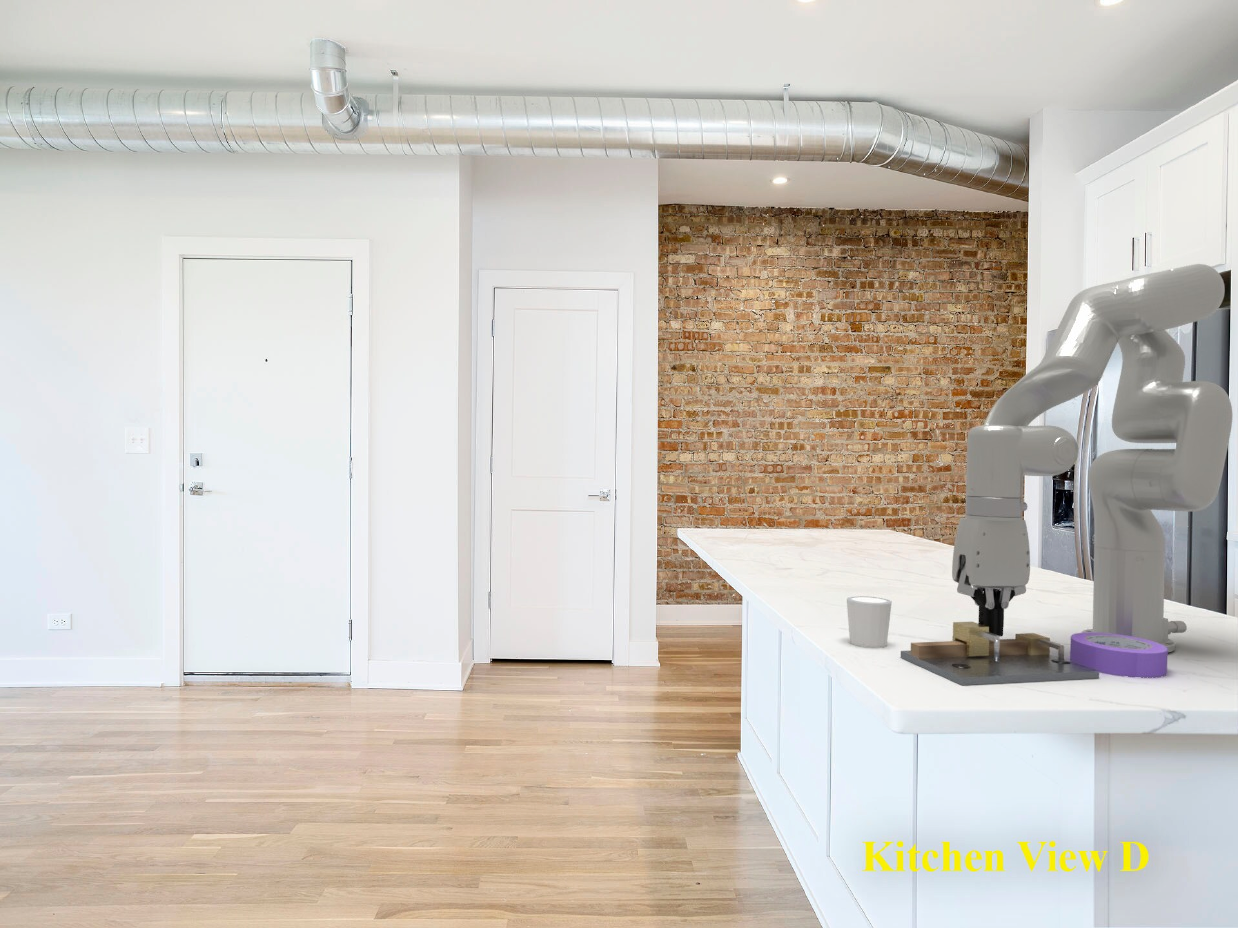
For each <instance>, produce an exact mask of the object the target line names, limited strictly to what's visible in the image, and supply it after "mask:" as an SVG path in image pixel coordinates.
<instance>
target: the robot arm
mask: <svg viewBox="0 0 1238 928" xmlns="http://www.w3.org/2000/svg"><path fill="white" fill-rule="evenodd" d="M1225 288H1226V287H1225V283H1224V279H1223V278H1222V276H1221V273H1219V272H1218V270H1216V268H1214V267H1212V266H1210V265H1207V264H1204V263H1195V264H1191V265H1185V266H1180V267H1176V268H1171V269H1166V270H1161V271H1156V272H1152V273H1146V274H1142V275H1138V276H1137V275H1136V276H1133V277H1129V278H1126V279H1122V280H1118V281H1113V282H1108V283H1107V282H1106V283H1103V284H1098V285H1095V286H1091V287H1088V288H1085V289H1083V290H1082V291H1080V292H1078V293H1077V294H1076V295H1074V297H1073V298H1072V299H1071V301H1070V303H1069V304H1068V306H1067V309H1066V311H1065V312H1064V315H1063V316H1062V318H1061V319H1060V320H1061V321H1060V323H1059V324H1058V327H1057V329H1056V331H1055V333H1054V334H1053V337H1052V339H1051V341H1050V343H1049V345H1048V347H1047V349H1046V352H1045V353H1044V356H1043V358H1042V359H1041V361H1040V363H1039V364H1038V365H1036V366H1035V367H1034V368H1033V369H1031V370H1030V371H1029V372H1027V373H1026V374H1025V375H1024V376H1023V377H1021V378H1020V379H1019V380H1018V381H1017V382H1015V383H1014V384H1013V385H1012V386H1011V387H1010V388H1009V389H1007V390H1006V391H1005V392H1004V393H1003V394H1002V395H1001V396H1000V397H999V398H998V399H997V401H995V403H994V405H992V407H991V409H990V411H988V415H987V417H986V418H985V420H984V422H983V425H982V424H981V425H976V426H973V427H971V428H970V429H969V430H968V433H967V437H966V438H967V440H966V444H967V445H966V477H965V478H966V480H965V482H966V483H965V515H964V516H965V517H960V518H959V521H958V524H957V528H956V533H955V539H954V544H953V553H952V554H953V555H952V565H951V566H952V569H951V570H952V571H951V575H952V576H951V577H952V580H953V581H954V583H958V585H957V588H956V592H957V593H959V594H961V595H965V596H968V597H970V598H971V599H972V600H973V601H974V605H976V606H977V607H978V621H977V623H978V624H982V625H985V626H988V627H989V632H990V633H993V634H996V635H999V636H1000V637H1003V636H1004V627H1005V626H1004V625H1005V623H1004V622H1005V610H1006V609H1008V608H1009V606H1010V602H1011V600H1013V598H1014V597H1016V596H1020V595H1024V594H1026V592H1027V588H1026V585H1027V584H1029V580H1030V574H1031V554H1030V553H1031V551H1030V550H1031V549H1030V541H1029V534H1028V533H1029V532H1028V526H1027V522H1026V520H1025V519H1023V513H1024V512H1026V511H1027V510H1028V503H1027V502H1025V501H1024V499H1023V498H1024V476H1027V477H1030V476H1031V477H1052V476H1058V475H1061V474H1064V473H1065V472H1067V471H1069V470H1070V469H1071V468H1073V466H1074V465H1075V464H1076V462H1077V459H1078V457H1079V443H1078V442H1077V440H1076V437H1075V436H1073V434H1072V433H1070V431H1068V430H1067V429H1065V428H1062V427H1059V426H1056V425H1030V424H1031V423H1032V422H1033V421H1034V420H1035V419H1037V417H1040V415H1042V414H1044V413H1046V412H1047V411H1049V410H1050V409H1053V408H1055V407H1057V406H1059V405H1061V404H1064V403H1066V402H1068V401H1071V400H1073V399H1075V398H1077V397H1080V396H1081V395H1083V394H1085V393H1087V392H1089V391H1090V390H1092V389H1093V388H1095V387H1096V386H1098V384H1099V383H1100V381H1101V379H1102V377H1103V374H1104V372H1105V370H1106V368H1107V366H1108V364H1109V361H1110V360H1111V358H1112V355H1113V354H1114V353H1113V352H1114V351H1115V349H1116V347H1117V345H1118V346H1119V348H1120V352H1121V357H1122V360H1121V361H1122V364H1121V369H1120V370H1121V371H1120V375H1119V379H1118V385H1117V389H1116V393H1115V399H1114V403H1113V404H1114V405H1113V409H1112V414H1111V415H1112V417H1111V428H1112V432H1113V433H1114V436H1116V437H1117V438H1118V439H1120V440H1121V441H1124V442H1127V443H1133V444H1175V448H1122V449H1116V450H1115V449H1114V450H1109V451H1107V452H1106V451H1105V452H1104V453H1102V454H1100V455H1098V456H1097V457H1096V458H1095V459H1094V460H1093V462H1092V463H1091V464H1090V466H1089V470H1088V475H1087V479H1088V481H1087V482H1088V489H1089V492H1090V497H1091V502H1092V509H1093V519H1094V520H1093V523H1094V528H1093V529H1094V540H1093V541H1094V544H1093V545H1094V546H1093V547H1094V549H1093V592H1092V593H1093V595H1092V596H1093V600H1092V602H1093V604H1092V628H1091V629H1085V630H1082V631H1081V633H1109V634H1118V635H1125V636H1131V637H1137V638H1142V639H1146V640H1150V641H1153V642H1157V643H1159V644H1162V645H1164V646H1165V647H1167V649H1168V653H1172V652H1175V650H1176V643H1175V642H1174V641H1173V640H1171V639H1169V635H1171V634H1184V633H1186V631H1187V629H1188V627H1187V626H1188V625H1187V624H1186V623H1185V622H1184V621H1182V620H1170V621H1169V618H1166V617H1164V613H1165V612H1164V610H1165V607H1164V605H1165V568H1166V567H1165V566H1166V565H1165V562H1166V560H1165V558H1166V555H1165V554H1166V538H1165V534H1164V531H1163V528H1162V526H1161V524H1160V523H1159V521H1158V519H1157V517H1156V516H1155V514H1154V513H1153V512H1152V510H1154V511H1155V510H1156V511H1171V512H1199V511H1202V510H1205V509H1206V508H1208V507H1209V506H1210V505H1212V503H1214V501H1215V500H1216V498H1217V496H1218V493H1219V491H1220V490H1219V489H1220V486H1221V484H1222V483H1221V482H1222V477H1223V474H1224V473H1223V472H1224V468H1225V464H1226V463H1225V462H1226V458H1227V452H1228V447H1229V442H1230V438H1231V437H1230V436H1231V432H1232V431H1231V430H1232V427H1233V405H1232V403H1231V400H1230V397H1229V395H1228V393H1227V392H1226V391H1225V389H1224V388H1222V386H1220V385H1218V384H1217V383H1214V382H1210V381H1205V380H1194V381H1193V380H1192V381H1183V380H1184V372H1185V367H1186V356H1185V353H1184V350H1183V348H1182V347H1181V345H1180V344H1179V343H1178V342H1177V340H1175V338H1173V336H1171V334H1170V333H1169V332H1168V331H1166V330H1169V329H1175V328H1177V327H1178V328H1179V327H1181V326H1185V325H1188V324H1192V323H1196V322H1199V321H1202V320H1205V319H1207V318H1209V317H1211V316H1212V315H1213V314H1214V313H1215V312H1217V311H1218V309H1219V308H1220V306H1221V305H1222V303H1223V301H1224V298H1225V291H1226V290H1225Z"/></svg>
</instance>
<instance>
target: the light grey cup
mask: <svg viewBox="0 0 1238 928" xmlns="http://www.w3.org/2000/svg"><path fill="white" fill-rule="evenodd" d="M846 609H847V610H846V611H847V620H848V621H847V622H848V633H849V634H848V635H849V643H850V644H852V645H854V646H857V645H858V647H863V648H870V647H873V649H874V647H875V649H877V648H878V647H879V648H884V647H887V644H888V638H889V637H888V636H889V628H890V620H891V612H892V600H890V599H887V598H883V597H878V596H877V597H875V596H861V595H860V596H859V595H858V596H849V597H847V598H846ZM876 647H877V648H876ZM879 648H878V649H879Z"/></svg>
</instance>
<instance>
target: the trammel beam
mask: <svg viewBox="0 0 1238 928" xmlns="http://www.w3.org/2000/svg"><path fill="white" fill-rule="evenodd" d="M1014 636H1015V638H1004V639H1003V638H1002V639H1000V638H999V640H1000V654H999V655H1019V654H1029V655H1046V654H1049V655H1051V654H1050V653H1051V651H1050V650H1051V648H1052V649H1055V650H1057V657H1058V660H1059V661H1064V659H1065V646H1064V645H1063V644H1060V643H1057V642H1055V641H1054V642H1053V641H1051V637H1048V636H1044V635H1041V634H1038V633H1034V632H1030V633H1029V632H1028V633H1025V632H1023V633H1015V635H1014ZM910 650H911V656H914V657H916V658H918V659H925V658H948V657H972V656H967V655H966V653H967V642H965V641H952V640H948V641H947V640H946V641H944V640H943V641H923V642H922V641H920V642H910ZM988 656H994V641H991V640H989V655H988Z"/></svg>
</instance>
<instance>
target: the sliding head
mask: <svg viewBox="0 0 1238 928" xmlns="http://www.w3.org/2000/svg"><path fill="white" fill-rule="evenodd" d="M1000 637H1001V636H999V635H996V634H993V633H990V632H989V627H988V626H985V625H982V624H978V622H975V621H953V623H952V640H951V641H965V642H967V653H966V655H967V656H988V655H989V640H991V641H994V661H996V662H999V654H1000V640H999V639H1000Z"/></svg>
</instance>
